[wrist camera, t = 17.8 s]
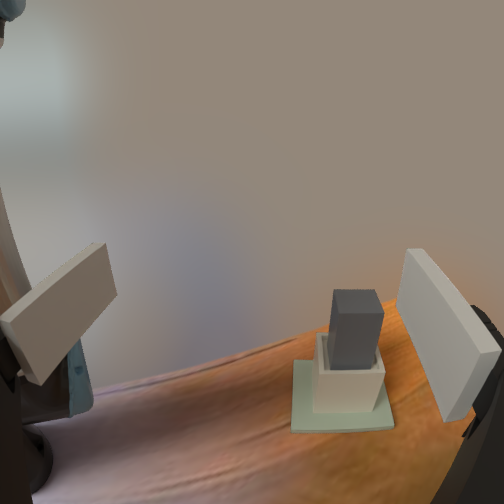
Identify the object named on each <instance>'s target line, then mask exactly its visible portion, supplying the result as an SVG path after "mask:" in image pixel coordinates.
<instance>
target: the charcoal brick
mask: <svg viewBox="0 0 504 504" xmlns="http://www.w3.org/2000/svg"><path fill="white" fill-rule="evenodd" d="M383 318H384V310H383V308H382V306H381V303H380V301H379V299H378V297H377V294H376V292H375V290H341V289H337V290H335V289H334V292H333V300H332V309H331V319H330V326H329V333H328V341H327V349H328V358H329V366H330V370H371V366H372V363H373V359H374V355H375V351H376V347H377V343H378V339H379V335H380V331H381V327H382V322H383Z"/></svg>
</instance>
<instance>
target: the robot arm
mask: <svg viewBox="0 0 504 504" xmlns="http://www.w3.org/2000/svg"><path fill="white" fill-rule="evenodd" d="M25 5H26V0H0V48H1V47H2V46H3V42H4V26H5V22H6V21H9V22H11V21H13V20H14V19H15V18H17V17H18V16H20V15H21V14H22V13H23V11H24V9H25ZM116 296H117V292H116V288H115V284H114V279H113V275H112V271H111V266H110V262H109V257H108V252H107V247H106V243H92V244H91V245H89V246H88V247H87V248H85V249H84V250H82V251H81V252H80V253H78V254H77V255H76V256H74V257H73V258H72V259H70V260H69V261H68V262H66V263H65V264H64V265H62V266H61V267H60V268H58V269H57V270H56V271H54V272H53V273H52V274H51V275H49V276H48V277H47V278H46V279H44V280H43V281H42V282H40V283H39V284H38V285H37V286H36V287H34V288H33V289H32V288H31V285H30V282H29V280H28V277H27V275H26V272H25V269H24V267H23V264H22V261H21V258H20V255H19V252H18V249H17V247H16V243H15V240H14V237H13V234H12V230H11V227H10V224H9V220H8V217H7V213H6V209H5V205H4V201H3V197H2V193H1V189H0V504H33V501H32V496H31V493H33V492H35V491H36V490H38V489H39V488H40V487H41V486H42V485H43V484H44V483H45V481H46V480H47V478H48V476H49V474H50V472H51V468H52V463H53V455H52V450H51V446H50V444H49V442H48V440H47V439H46V438H45V436H44V435H43V434H42V432H41V431H40V430H39V429H38V428H37V427H36V426H35V425H33V424H35V423H40V422H46V421H51V420H57V419H62V418H67V417H68V418H71V417H73V416H74V415H77V414H80V413H84V412H87V411H89V410H90V409H91V408H92V406H93V403H94V398H93V392H92V388H91V383H90V379H89V374H88V370H87V366H86V362H85V358H84V353H83V349H82V345H81V340H80V337H81V336H82V335H83V334H84V333H85V332H86V330H87V329H88V328H89V327H90V326H91V325H92V323H93V322H94V321H95V320H96V319H97V318H98V316H99V315H100V314H101V313H102V312H103V311H104V310H105V308H106V307H107V306H108V305H109V304H110V303H111V302H112V301H113V299H114V298H115V297H116ZM396 307H397V310H398V312H399V314H400V316H401V318H402V320H403V322H404V325H405V327H406V329H407V331H408V333H409V336H410V338H411V340H412V343H413V345H414V347H415V349H416V352H417V354H418V357H419V359H420V361H421V364H422V366H423V369H424V371H425V374H426V376H427V379H428V381H429V384H430V386H431V389H432V391H433V394H434V397H435V399H436V402H437V405H438V408H439V410H440V413H441V416H442V419H443V422H444V423H446V422H451V421H456V420H461V419H464V418H465V417H466V415H467V413H468V412H469V410H470V409H471V407H472V406H473V408H474V411H475V413H476V416H475V417H474V419H473V420H472V422H471V423H470V425H469V426H468V428H467V429H466V431H465V432H464V433H463V435H462V436H461V437H465V438H464V441H463V443H462V445H461V447H460V449H459V451H458V453H457V456H456V458H455V460H454V462H453V464H452V466H451V468H450V469H449V471H448V473H447V475H446V477H445V479H444V481H443V482H442V484H441V486H440V488H439V490H438V491H437V493H436V495H435V496H434V498H433V500H432V501H431V503H430V504H504V338H503V336H502V335H501V334H500V332H499V331H497V328H496V327H495V326H494V324H493V323H491V320H490V319H489V318H488V316H487V315H486V314H485V313H484V312H483V311H482V310H480V309H479V308H478V307H476V306H475V305H469V304H468V303H467V301H466V300H465V299H464V297H463V296H462V295H461V294H460V293H459V291H458V290H457V289H456V287H455V286H454V285H453V284H452V282H451V281H450V280H449V279H448V278H447V276H446V275H445V274H444V273H443V272H442V270H441V269H440V268H439V267H438V266H437V265H436V263H435V262H434V261H433V260H432V259H431V258H430V257H429V255H428V254H427V253H426V252H425V251H424V250H423V249H411V248H409V249H408V248H407V249H406V255H405V261H404V267H403V272H402V277H401V283H400V288H399V293H398V297H397V302H396Z"/></svg>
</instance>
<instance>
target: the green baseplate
mask: <svg viewBox="0 0 504 504" xmlns="http://www.w3.org/2000/svg"><path fill="white" fill-rule="evenodd" d="M312 367H313V360H294V363H293V392H292V416H291V433H348V432H365V431H378V430H389V429H393V428H394V426H395V425H394V421H393V416H392V412H391V408H390V404H389V400H388V396H387V392H386V388H385V384H384V380H383V382H382V385H381V388H380V391H379V394H378V397H377V400H376V402H375V405H374V408H373V410H372V412H357V413H313V396H312Z"/></svg>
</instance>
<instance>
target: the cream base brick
mask: <svg viewBox="0 0 504 504" xmlns="http://www.w3.org/2000/svg"><path fill="white" fill-rule="evenodd" d="M327 341H328V333H319V332H316V341H315V350H314V358H313V367H312V396H313V413H357V412H372V410H373V408H374V405H375V402H376V400H377V397H378V394H379V391H380V388H381V385H382V382H383V379H384V376H385V373H386V371H385V368H384V365H383V361H382V358H381V354H380V351H379V348H378V344H377V347H376V351H375V355H374V359H373V363H372V366H371V370H330V366H329V358H328V349H327Z"/></svg>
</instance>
